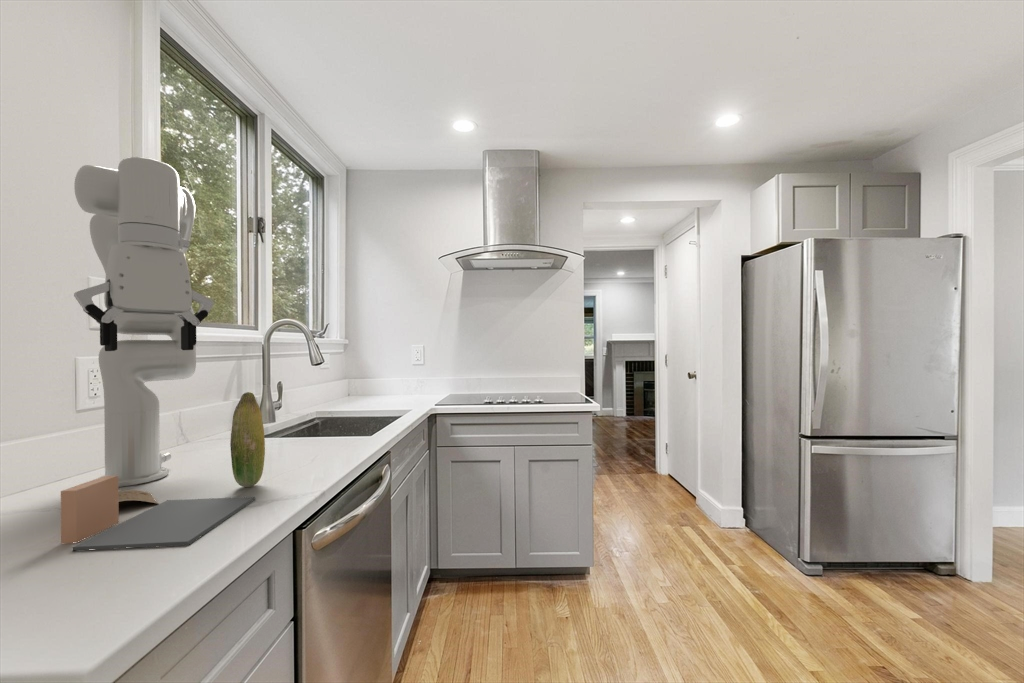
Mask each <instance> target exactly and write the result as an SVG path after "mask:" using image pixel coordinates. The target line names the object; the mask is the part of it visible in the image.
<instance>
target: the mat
mask: <svg viewBox="0 0 1024 683" xmlns="http://www.w3.org/2000/svg"><path fill="white" fill-rule="evenodd" d="M255 499H256V497H255V496H238V497H235V496H234V497H233V496H232V497H214V498H212V497H211V498H195V499H194V498H192V499H191V498H189V499H169V500H167V499H166V500H165V501H163V502H161V503H158V504H157V505H155V506H153V507H151V508H149V509H147V510H144V511H143V512H141V513H139V514H137V515H135V516H132V517H130V518H129V519H126V520H124V521H122V522H121V523H120V522H119V523H117V524H115V525H113V526H111V527H109V528H107V529H105V530H103V531H101V532H99V533H97V534H95V535H93V536H91V538H90V537H89V538H87V539H85V540H83V541H81V542H79V543H77V544H76V545H74V546H71V547H72V549H71V550H88V551H90V550H89V549H107V550H115V549H114V548H126V547H147V548H157V547H156V546H159V547H158V548H161V547H160V546H167V547H185V546H189V544H190V545H191V544H192V542H193V541H194V542H196V541H197V540H199V539H200V538H201V537H203V536H204V535H206V534H208V531H209V532H210V531H212V530H213V529H214V528H216V527H217V526H219V525H220V524H222V523H223V522H225V521H226V520H227V519H229V518H230V517H232V516H234V515H235V514H236V513H238V512H239V511H241V510H242V509H243V508H245V507H246V506H248V505H249V504H251V503H252V502H253V501H255ZM224 520H225V521H224ZM221 522H222V523H221ZM218 524H219V525H218ZM215 526H216V527H215ZM212 528H213V529H212ZM205 533H206V534H205ZM203 534H204V535H203ZM202 535H203V536H202ZM200 536H201V537H200ZM199 537H200V538H199ZM196 539H197V540H196ZM194 542H193V543H194Z"/></svg>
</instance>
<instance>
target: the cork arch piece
mask: <svg viewBox="0 0 1024 683" xmlns="http://www.w3.org/2000/svg"><path fill="white" fill-rule="evenodd" d="M118 493H119V502H124V501H125V502H126V501H141V502H147V503H154V504H157V505H159V502H157V500H156V499H155V497H154V496H153V497H154V498H153V497H152V495H153V494H152V493H150V492H148V491H144V490H138V489H133V490H132V489H127V490H122V489H121V490H118ZM151 494H152V495H151ZM154 499H155V500H156V501H155V500H154Z"/></svg>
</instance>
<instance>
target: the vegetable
mask: <svg viewBox="0 0 1024 683" xmlns="http://www.w3.org/2000/svg"><path fill="white" fill-rule="evenodd" d="M229 445H230V457H231V469H232V470H231V471H232V474H233V477H234V481H235V482H236V483H237V485H239V486H241V487H243V488H251V487H254V486H255V485H257V484H258V483H259V481H260V480H261V478H262V475H263V473H264V465H265V457H266V449H265V448H266V440H265V429H264V423H263V417H262V410H261V408H260V405H259V404H258V402H257V398H256V396H255V394H254V393H253V392H249V391H246V392H244V393H243V394H242V395H241V397H240V399H239V401H238V403H237V405H236V406H235V408H234V411H233V414H232V422H231V431H230V443H229Z"/></svg>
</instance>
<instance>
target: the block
mask: <svg viewBox="0 0 1024 683" xmlns="http://www.w3.org/2000/svg"><path fill="white" fill-rule="evenodd" d="M102 476H103V477H101V476H99V477H100V478H99V477H98V479H97V478H94V479H92V480H89V481H86V482H83V483H80V484H78V485H75V486H72V487H69V488H66V489H63V490H61V491H60V544H61V543H73V542H78V541H80V540H82V539H84V538H87V537H89V536H91V535H93V536H95V535H97V534H99V533H101V532H103V531H105V530H107V529H109V528H111V527H113V526H115V525H117V524H119V523H120V522H119V521H120V518H119V517H120V516H119V515H120V514H119V512H120V511H119V510H120V508H119V506H120V505H119V504H120V503H119V493H118V491H119V487H118V476H104V475H102ZM118 522H119V523H118ZM116 523H117V524H116ZM114 524H115V525H114ZM112 525H113V526H112ZM110 526H111V527H110ZM108 527H109V528H108ZM106 528H107V529H106ZM104 529H105V530H104ZM102 530H103V531H102ZM100 531H101V532H100ZM98 532H99V533H98ZM96 533H97V534H96ZM94 534H95V535H94ZM91 537H92V536H91ZM89 538H90V537H89ZM87 539H88V538H87ZM84 540H85V539H84ZM82 541H83V540H82ZM80 542H81V541H80ZM78 543H79V542H78ZM73 544H74V543H73Z"/></svg>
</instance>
